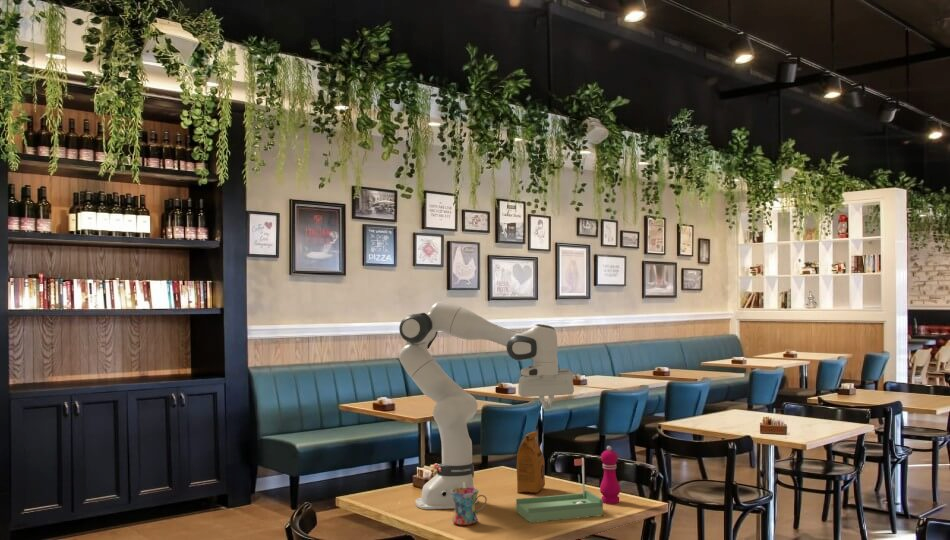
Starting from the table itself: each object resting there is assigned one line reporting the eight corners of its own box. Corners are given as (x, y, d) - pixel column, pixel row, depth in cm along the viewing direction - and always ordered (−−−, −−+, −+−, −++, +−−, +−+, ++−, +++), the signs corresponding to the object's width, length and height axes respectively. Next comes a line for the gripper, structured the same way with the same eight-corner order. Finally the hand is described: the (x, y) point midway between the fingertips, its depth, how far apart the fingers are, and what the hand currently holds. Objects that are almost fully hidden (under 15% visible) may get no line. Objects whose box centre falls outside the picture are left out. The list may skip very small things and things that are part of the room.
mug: (448, 526, 265) (447, 493, 266) (454, 518, 274) (453, 487, 275) (484, 527, 263) (484, 494, 263) (489, 519, 272) (488, 487, 273)
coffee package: (549, 488, 316) (548, 431, 316) (537, 495, 304) (536, 436, 305) (525, 486, 320) (524, 429, 321) (513, 493, 309) (512, 434, 309)
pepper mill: (607, 505, 288) (606, 448, 288) (596, 501, 294) (595, 445, 295) (624, 503, 291) (623, 446, 291) (613, 498, 297) (611, 443, 298)
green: (529, 522, 268) (528, 470, 268) (516, 512, 281) (515, 462, 282) (602, 515, 274) (601, 464, 275) (586, 505, 288) (585, 457, 289)
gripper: (569, 367, 298) (570, 405, 298) (516, 370, 293) (517, 408, 292) (576, 369, 292) (577, 407, 291) (521, 371, 287) (522, 411, 286)
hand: (546, 408), depth 292 cm, fingers closed
